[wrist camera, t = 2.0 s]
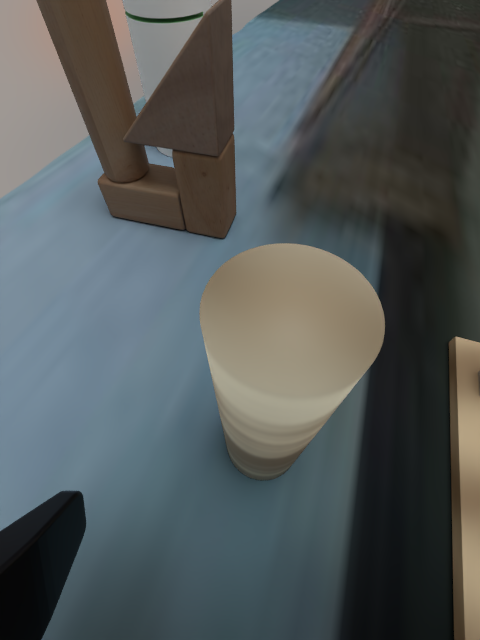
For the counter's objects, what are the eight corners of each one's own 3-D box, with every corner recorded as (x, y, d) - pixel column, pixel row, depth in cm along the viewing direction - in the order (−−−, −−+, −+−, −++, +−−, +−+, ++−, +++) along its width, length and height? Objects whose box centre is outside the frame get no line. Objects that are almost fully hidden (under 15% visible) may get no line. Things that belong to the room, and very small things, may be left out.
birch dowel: (287, 491, 16) (374, 425, 6) (216, 464, 17) (168, 359, 6) (304, 418, 19) (392, 265, 8) (239, 397, 19) (234, 229, 8)
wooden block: (225, 241, 27) (200, -131, 12) (110, 218, 28) (-41, -132, 13) (237, 213, 29) (230, -137, 13) (129, 193, 30) (16, -137, 15)
